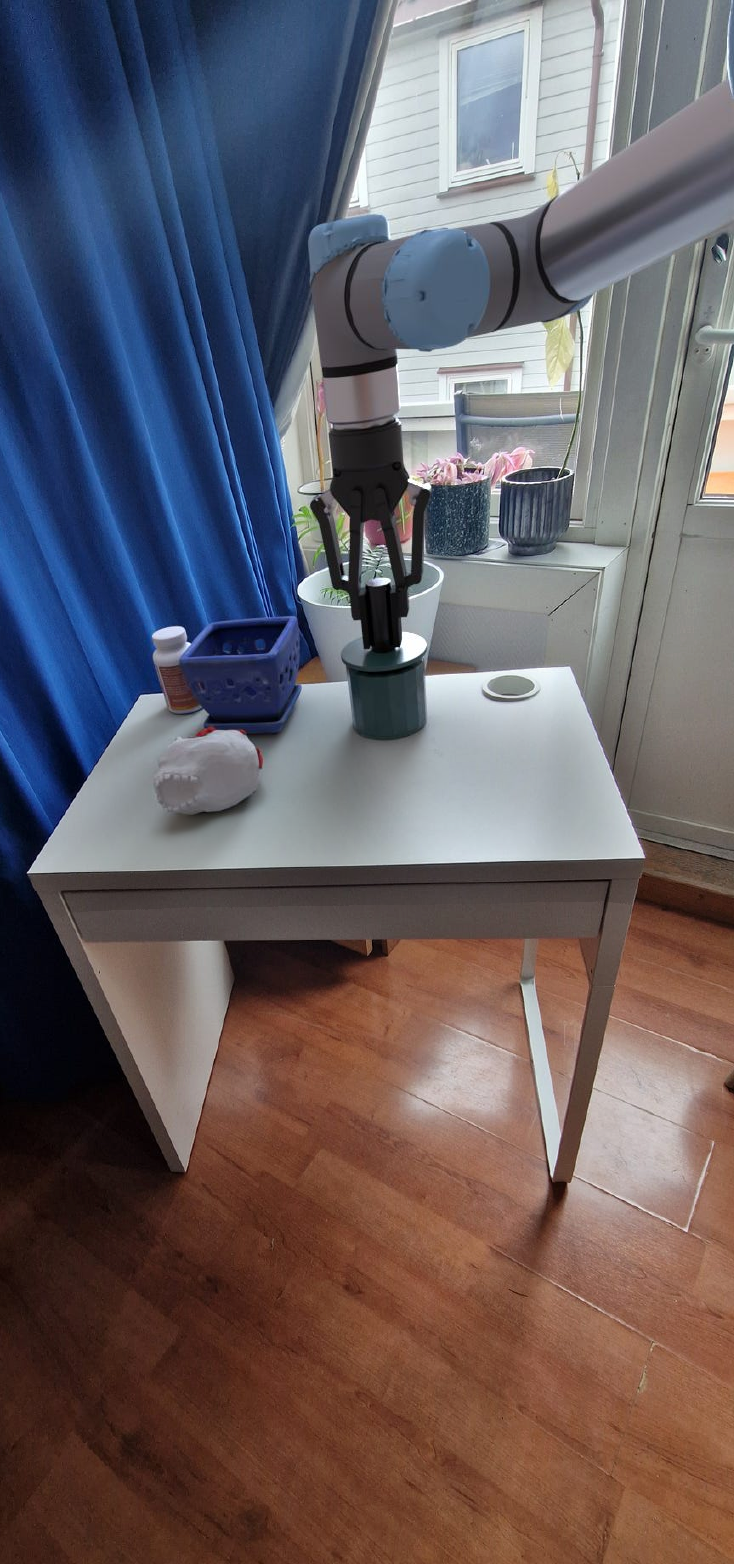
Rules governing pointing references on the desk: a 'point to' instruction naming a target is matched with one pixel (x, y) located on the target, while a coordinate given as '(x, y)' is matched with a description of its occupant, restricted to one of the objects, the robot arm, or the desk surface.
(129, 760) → the desk surface
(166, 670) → the pill bottle
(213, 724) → the flower pot
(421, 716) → the pot
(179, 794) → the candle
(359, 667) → the lid
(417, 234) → the robot arm
